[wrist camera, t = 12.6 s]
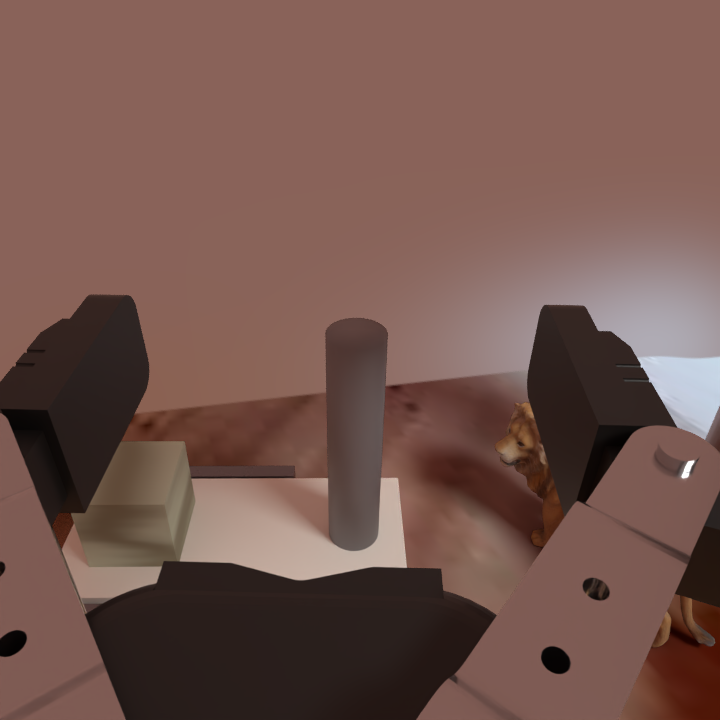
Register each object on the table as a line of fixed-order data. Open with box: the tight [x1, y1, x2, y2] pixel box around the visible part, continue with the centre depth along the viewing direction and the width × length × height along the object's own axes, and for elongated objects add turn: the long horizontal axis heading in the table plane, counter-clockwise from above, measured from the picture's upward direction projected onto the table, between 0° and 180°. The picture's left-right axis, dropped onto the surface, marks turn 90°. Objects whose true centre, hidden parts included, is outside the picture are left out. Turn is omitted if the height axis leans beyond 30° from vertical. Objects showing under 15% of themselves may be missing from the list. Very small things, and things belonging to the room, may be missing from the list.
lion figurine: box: [495, 402, 715, 647], centre depth 36 cm, size 15×5×9 cm, turn 42°
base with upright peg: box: [62, 318, 407, 604], centre depth 34 cm, size 20×9×16 cm, turn 91°
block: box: [71, 441, 195, 567], centre depth 36 cm, size 5×5×5 cm
